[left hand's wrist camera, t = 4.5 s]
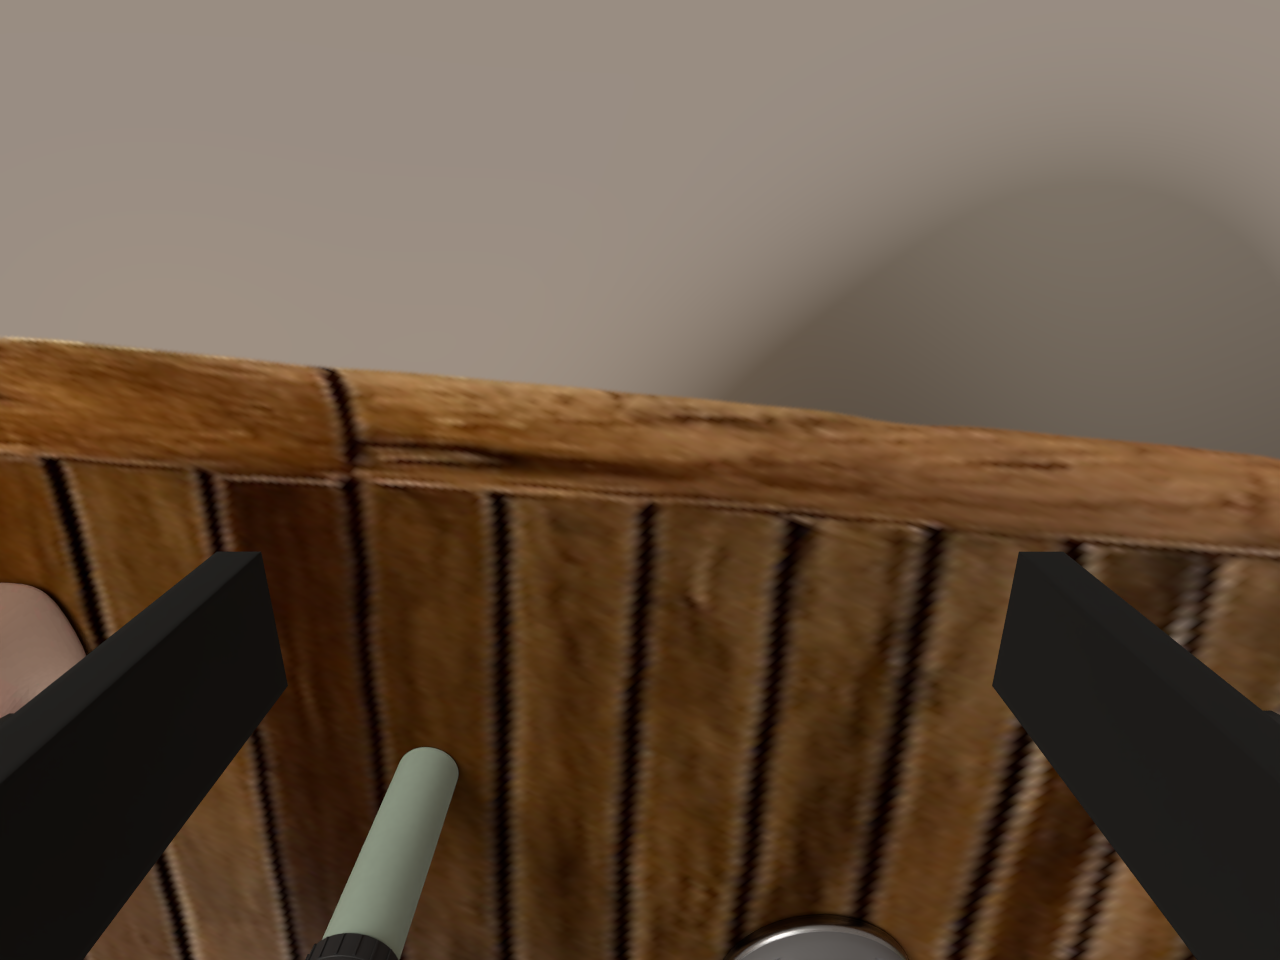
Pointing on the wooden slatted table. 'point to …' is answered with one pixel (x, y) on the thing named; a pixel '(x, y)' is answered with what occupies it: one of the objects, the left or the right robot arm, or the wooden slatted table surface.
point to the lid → (351, 948)
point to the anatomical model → (32, 645)
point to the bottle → (398, 851)
